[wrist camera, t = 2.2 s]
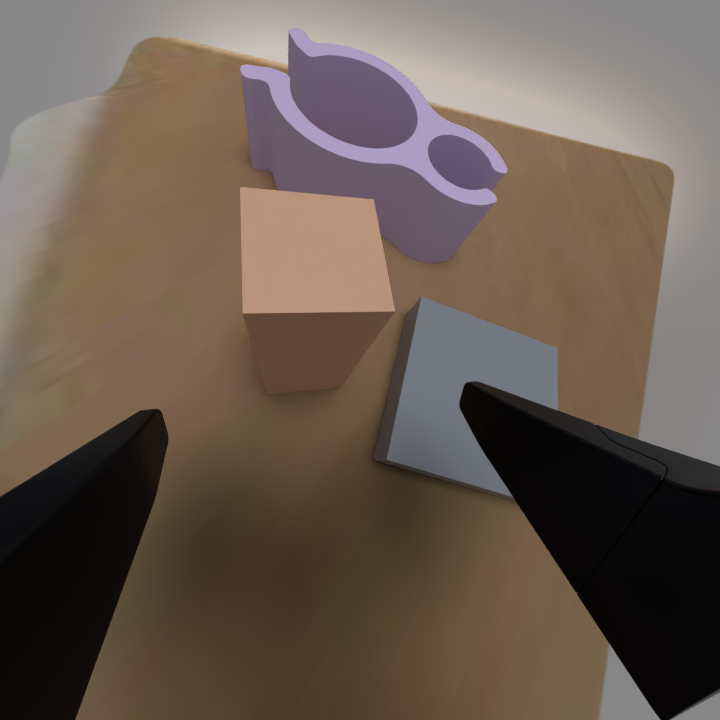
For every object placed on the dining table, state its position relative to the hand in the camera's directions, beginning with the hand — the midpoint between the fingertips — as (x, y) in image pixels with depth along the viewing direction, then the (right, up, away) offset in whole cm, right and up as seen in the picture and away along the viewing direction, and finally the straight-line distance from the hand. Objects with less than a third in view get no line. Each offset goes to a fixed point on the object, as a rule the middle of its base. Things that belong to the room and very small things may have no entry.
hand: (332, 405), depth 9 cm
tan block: (-3, +1, +13) cm, 13 cm away
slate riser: (+9, -2, +14) cm, 17 cm away
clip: (+1, +17, +20) cm, 26 cm away
